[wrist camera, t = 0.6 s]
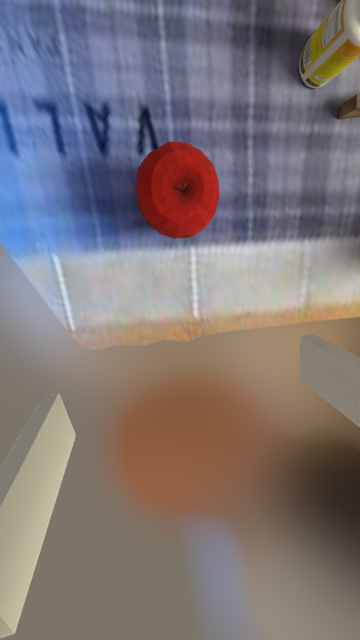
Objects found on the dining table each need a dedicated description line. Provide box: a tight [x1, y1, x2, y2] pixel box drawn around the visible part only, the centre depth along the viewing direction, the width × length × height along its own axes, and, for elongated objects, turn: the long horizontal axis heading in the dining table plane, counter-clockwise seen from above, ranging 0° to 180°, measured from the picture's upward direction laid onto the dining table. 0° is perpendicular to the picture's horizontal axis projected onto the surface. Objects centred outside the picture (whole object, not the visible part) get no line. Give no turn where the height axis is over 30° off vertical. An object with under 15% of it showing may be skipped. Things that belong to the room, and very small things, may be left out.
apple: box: [136, 142, 219, 238], centre depth 28 cm, size 10×10×11 cm
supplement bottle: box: [299, 0, 360, 88], centre depth 26 cm, size 6×6×10 cm
